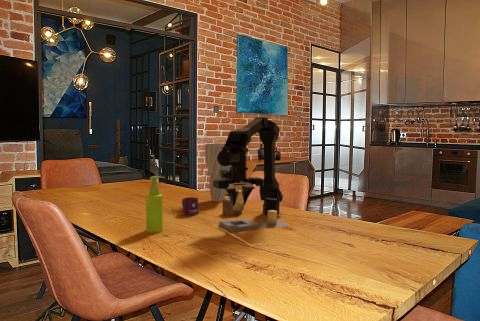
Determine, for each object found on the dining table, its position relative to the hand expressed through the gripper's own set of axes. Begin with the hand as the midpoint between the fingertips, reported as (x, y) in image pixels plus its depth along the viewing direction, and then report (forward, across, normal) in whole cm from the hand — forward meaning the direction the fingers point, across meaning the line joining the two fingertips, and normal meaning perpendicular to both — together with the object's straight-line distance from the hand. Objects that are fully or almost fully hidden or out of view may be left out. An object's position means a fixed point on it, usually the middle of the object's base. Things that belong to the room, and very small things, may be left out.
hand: (238, 205), depth 146 cm
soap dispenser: (+9, +29, -10) cm, 32 cm away
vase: (+9, -16, -56) cm, 59 cm away
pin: (+2, 0, 0) cm, 2 cm away
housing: (+9, -8, -22) cm, 25 cm away
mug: (+9, +8, -33) cm, 36 cm away
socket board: (+9, 0, 0) cm, 9 cm away
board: (+9, -14, +2) cm, 16 cm away
